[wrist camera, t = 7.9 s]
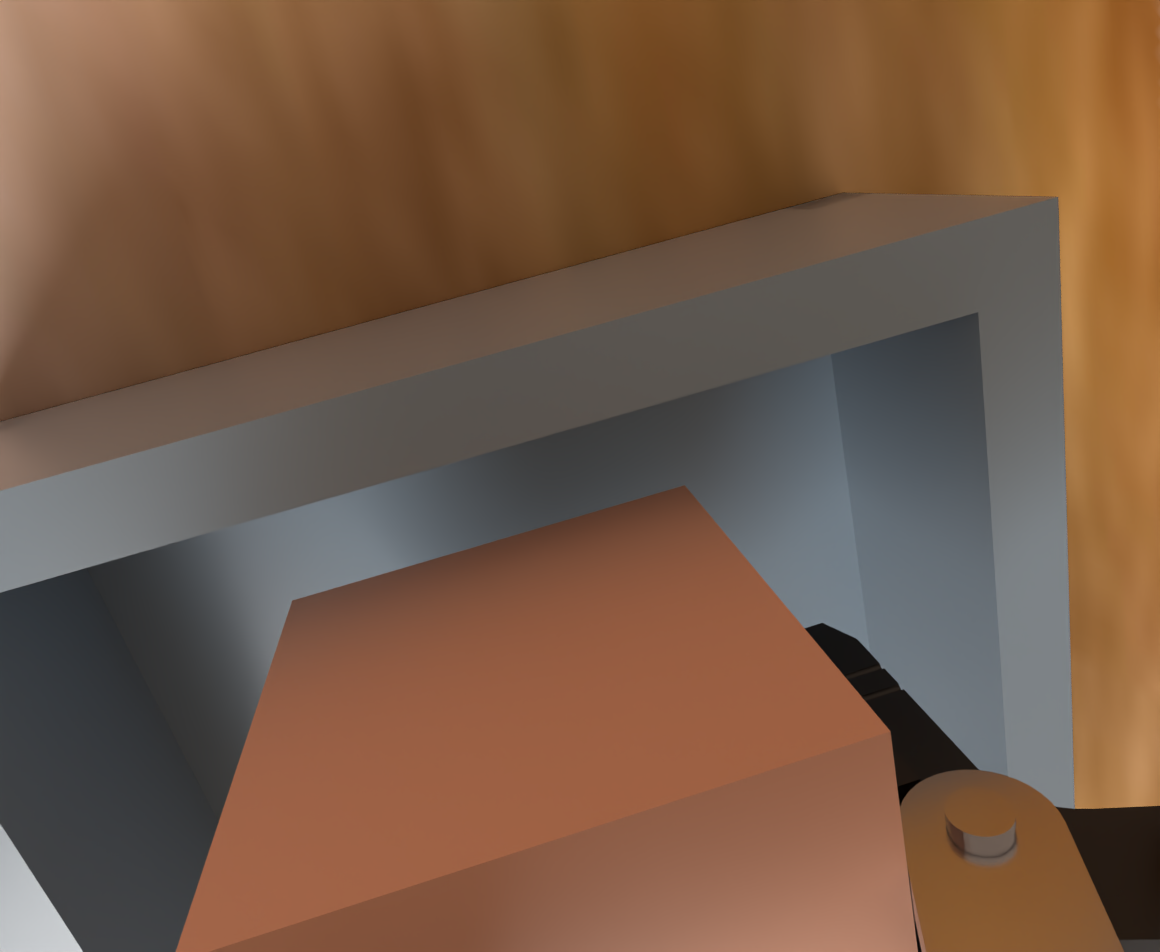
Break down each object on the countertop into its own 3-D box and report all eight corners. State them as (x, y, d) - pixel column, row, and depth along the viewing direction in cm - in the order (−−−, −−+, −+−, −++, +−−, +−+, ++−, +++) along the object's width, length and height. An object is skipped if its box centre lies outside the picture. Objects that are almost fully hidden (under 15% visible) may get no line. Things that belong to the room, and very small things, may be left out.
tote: (933, 956, 20) (1085, 1190, 15) (367, 1152, 19) (347, 1467, 14) (842, 193, 14) (1059, 196, 9) (-23, 427, 13) (-291, 571, 8)
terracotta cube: (684, 485, 10) (891, 732, 6) (748, 789, 12) (943, 1164, 8) (291, 600, 10) (172, 962, 5) (418, 897, 12) (410, 1360, 7)
